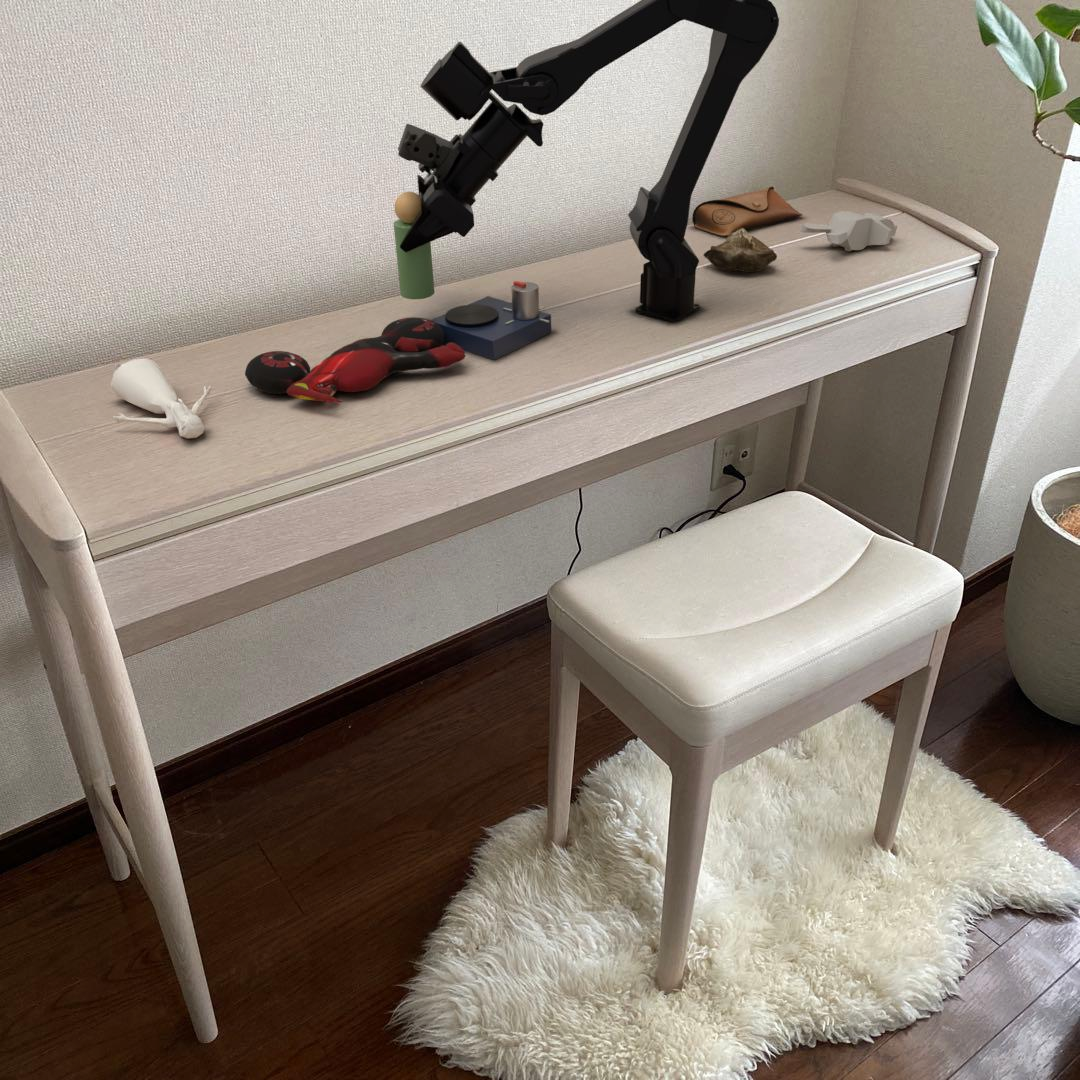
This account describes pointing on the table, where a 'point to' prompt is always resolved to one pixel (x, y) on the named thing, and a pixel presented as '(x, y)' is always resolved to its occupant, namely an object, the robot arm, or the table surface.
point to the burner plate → (471, 316)
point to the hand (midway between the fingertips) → (402, 243)
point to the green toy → (412, 252)
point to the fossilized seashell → (741, 253)
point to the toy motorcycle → (355, 362)
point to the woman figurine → (155, 397)
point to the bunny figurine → (855, 230)
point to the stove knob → (525, 300)
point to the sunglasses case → (743, 212)
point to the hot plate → (496, 331)
